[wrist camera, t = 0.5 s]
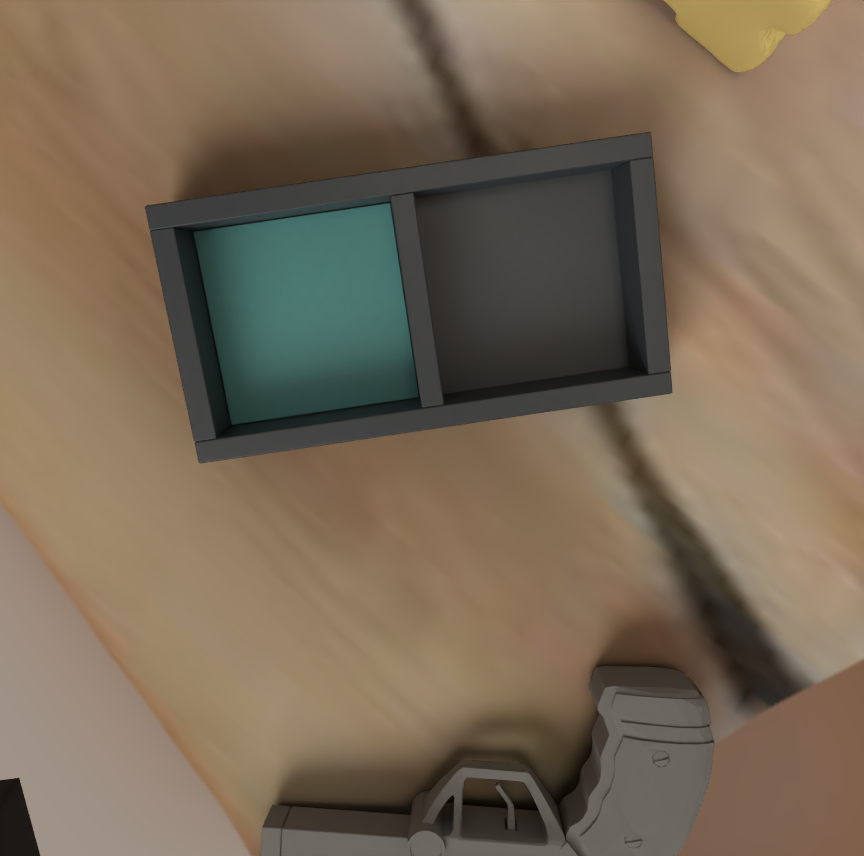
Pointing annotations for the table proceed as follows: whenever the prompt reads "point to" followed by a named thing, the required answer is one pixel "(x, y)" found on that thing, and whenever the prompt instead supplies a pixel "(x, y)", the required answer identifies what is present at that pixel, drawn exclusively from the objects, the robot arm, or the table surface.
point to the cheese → (744, 26)
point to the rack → (416, 297)
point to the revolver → (550, 826)
